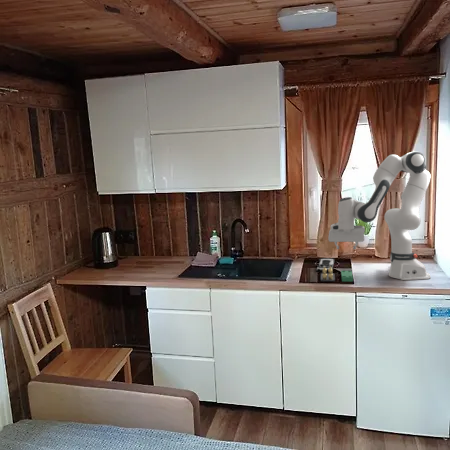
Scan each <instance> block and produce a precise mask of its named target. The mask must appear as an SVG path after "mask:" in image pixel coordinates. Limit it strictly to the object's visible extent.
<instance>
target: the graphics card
mask: <svg viewBox="0 0 450 450" xmlns="http://www.w3.org/2000/svg"><path fill="white" fill-rule="evenodd" d="M318 262H319V263H318V266H317V268H316V273H323V269H324V267H325V269H327V273H328V269H330V267H331V269H333V267H334V263H335V258H319V259H318Z"/></svg>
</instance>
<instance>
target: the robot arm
mask: <svg viewBox="0 0 450 450" xmlns="http://www.w3.org/2000/svg"><path fill="white" fill-rule="evenodd" d="M426 162H427V158H426V156H425V154H424V153H423V152H421V151H418V150H413V151H411V152H408V153H406V154H404V155H402V156H399V155H397V154H389V155H388V156H387V157H386V158H385V159H383V161H382V162H381V163H380V165H379V166H378V167H377V169H376V170H375V172H374V174H373V177H372V179H373V180H372V181H373V183H374V185H375V190H374V191H373V193H372V195H371V196H370V198H369V200H368V201H367V202H362V201H358V200H356V199H355V198H353V197H351V196H350V197H349V196H347V197H346V196H345V197H342V198H341V199H340V200H338V205H337V207H338V208H337V209H338V210H337V214H338V220H337V222H335V223H332V224H331V225H330V227H329V228H330V229H329V232H328V238H327V239H328V242H329V243H334V245H335V247H336V250H340V245H338V243H347V242H348V243H350V242H351V243H352V242H353V243H354V244H355V245H353V248H352V249H353V250H357V246H358V245H359V243H361V242H364V241H365V234H364V233H366V228H365V226H364V225H355V219H358V220H360V221H362V222H363V223H371V222H373V221H374V220H375V219H376V217H377V215H378V210H379V207H380V206H381V204H382V202H383V200H385V199H384V198H385V196H386V195H387V194H388V192H389V189H390V187H391V185H392V184H393V183H394V181H395V179H396V178H397V176H398V174H399V173H400V172H403V173H406V174H409V179H408V181H407V183H406V185H405V187H404V188H403V191H402V194H401V196H400V198H401V207H400V208H398V207H397V208H389V209H388V210H386V212H385V213H384V217H383V218H384V221H385V223H386V224H387V226H388V230H389V234H390V239H391V242H390V243H391V246H390V247H391V251H390V269H389V272H388V276H389V277H391V278H392V279H393V278H394V279H399V280H401V281H413V280H429V279H431V274H430V273H429V272H428V271H427V269H426V266H425V265H424V263H422V262H421V261H420V260H418V259H417V258H418V255H417V253H416V252H413V239H412V236H411V235H410V233H409V231H414V230H417V229H418V228H419V226H420V225H421V217H420V207H421V204H422V201H423V198H424V197H425V195H426V192H427V190H428V187H429V185H430V181H431V173H430V172H429V171H428V170H427V163H426Z"/></svg>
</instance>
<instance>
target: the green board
mask: <svg viewBox="0 0 450 450" xmlns="http://www.w3.org/2000/svg"><path fill="white" fill-rule="evenodd" d="M340 274H341V277H340V278H341V282H354V277H353V272H352V270H341V271H340Z"/></svg>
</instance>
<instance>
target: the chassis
mask: <svg viewBox="0 0 450 450" xmlns="http://www.w3.org/2000/svg"><path fill="white" fill-rule="evenodd" d="M333 272H334V271H333V268H332V269H331V267H330V269H328V272H327V269H325V267H324V269H323V272H320V282H336V275H335V273H333Z"/></svg>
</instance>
